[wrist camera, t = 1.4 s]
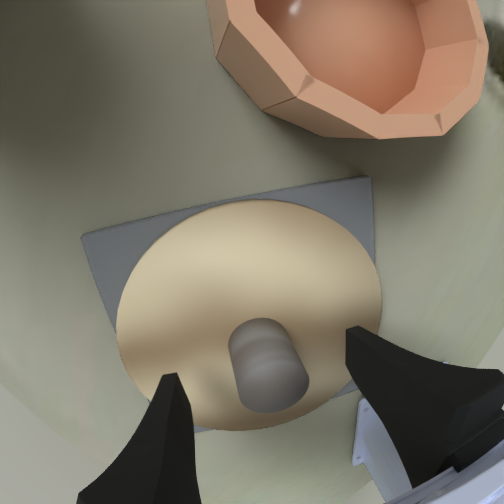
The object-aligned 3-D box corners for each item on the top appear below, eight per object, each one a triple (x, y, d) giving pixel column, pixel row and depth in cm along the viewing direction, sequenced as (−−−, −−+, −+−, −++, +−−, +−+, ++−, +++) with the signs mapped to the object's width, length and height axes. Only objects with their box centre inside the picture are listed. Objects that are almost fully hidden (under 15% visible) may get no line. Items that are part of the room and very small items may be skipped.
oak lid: (369, 385, 18) (398, 427, 15) (168, 436, 17) (169, 489, 13) (370, 176, 14) (426, 192, 10) (80, 237, 12) (44, 274, 8)
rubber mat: (365, 380, 19) (368, 384, 18) (168, 430, 17) (168, 436, 17) (365, 175, 14) (371, 176, 14) (83, 233, 13) (80, 237, 12)
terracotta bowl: (437, 129, 14) (501, 135, 10) (232, 150, 13) (252, 155, 9) (397, -47, 10) (445, -75, 6) (195, -63, 9) (201, -120, 5)
